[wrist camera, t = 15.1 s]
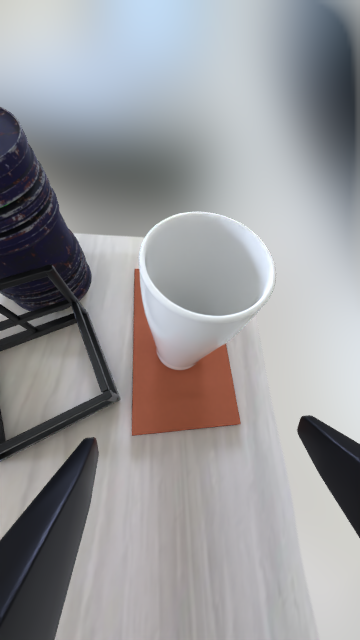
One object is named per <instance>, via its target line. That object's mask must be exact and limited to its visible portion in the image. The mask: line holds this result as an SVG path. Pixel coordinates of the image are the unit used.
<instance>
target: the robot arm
mask: <svg viewBox="0 0 360 640" xmlns="http://www.w3.org/2000/svg"><path fill="white" fill-rule="evenodd" d="M297 430H298V435H299V437H300V439H301V440H302V442H303V444H304V446H305V448H306V450H307V452H308V454H309V456H310V457H311V459H312V461H313V463H314V465H315V467H316V469H317V471H318V472H319V474H320V476H321V477H322V479H323V481H324V482H325V484H326V485H327V487H328V489H329V490H330V492H331V493H332V495H333V496H334V498H335V500H336V501H337V503H338V504H339V506H340V507H341V509H342V511H343V512H344V514H345V515H346V517H347V519H348V520H349V522H350V523H351V525H352V526H353V528H354V530H355V531H356V533H357V534H358V536H359V538H360V444H358V443H357V442H355V441H354V440H352V439H350V438H349V437H347V436H345V435H343V434H342V433H340V432H338V431H337V430H335V429H333V428H332V427H330V426H328V425H327V424H325V423H323V422H321V421H320V420H318V419H316V418H315V417H313V416H310V415H309V416H302V417H301V419H300V422H299V425H298V429H297ZM98 455H99V452H98V446H97V441H96V438H94V437H93V438H85V439H84V440H83V441H82V442H81V443H80V444H79V446H78V447H77V448H76V449H75V451H74V452H73V453H72V454H71V455H70V457H69V458H68V459H67V460H66V461H65V463H64V464H63V465H62V466H61V467H60V469H59V470H58V471H57V472H56V474H55V475H54V476H53V477H52V478H51V480H50V481H49V482H48V483H47V484H46V486H45V487H44V488H43V489H42V491H41V492H40V493H39V494H38V495H37V497H36V498H35V499H34V500H33V501H32V503H31V504H30V505H29V506H28V507H27V509H26V510H25V511H24V512H23V514H22V515H21V516H20V517H19V518H18V520H17V521H16V522H15V523H14V524H13V526H12V527H11V528H10V529H9V530H8V532H7V533H6V534H5V535H4V537H3V538H2V539H1V540H0V640H54V639H55V636H56V632H57V628H58V624H59V620H60V617H61V613H62V609H63V605H64V602H65V598H66V594H67V590H68V587H69V583H70V579H71V575H72V572H73V568H74V564H75V560H76V557H77V553H78V549H79V545H80V542H81V538H82V534H83V530H84V527H85V523H86V519H87V515H88V511H89V507H90V502H91V497H92V491H93V485H94V480H95V474H96V468H97V462H98Z"/></svg>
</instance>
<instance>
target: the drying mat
mask: <svg viewBox="0 0 360 640" xmlns="http://www.w3.org/2000/svg"><path fill="white" fill-rule="evenodd" d="M237 424H241V423H240V418H239V412H238V407H237V402H236V396H235V391H234V385H233V380H232V375H231V369H230V364H229V358H228V353H227V348H226V343H225V344H224V345H222V346H221V347H219V348H218V349H216V350H215V351H213V352H212V353H210V354H209V355H207V356H205V357H204V358H202V359H201V360H199V361H198V362H197V363H196V364H195V365H194V366H193V367H191V368H189V369H186V370H174V369H171V368H169V367H167V366H166V365H164V364H163V363H162V362H161V360H160V359H159V357H158V355H157V352H156V345H155V342H154V339H153V336H152V334H151V331H150V328H149V325H148V322H147V319H146V315H145V312H144V307H143V302H142V296H141V287H140V271H139V269H135V281H134V341H133V400H132V436H133V435H142V434H152V433H161V432H171V431H180V430H190V429H199V428H209V427H218V426H228V425H237Z"/></svg>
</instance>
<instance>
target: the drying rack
mask: <svg viewBox="0 0 360 640" xmlns="http://www.w3.org/2000/svg"><path fill="white" fill-rule="evenodd" d="M47 276H48V277H49V279H50V280H51V281H52V282H53V283H54V285H55V286H56V287H57V288H58V289H59V291H60V292H61V293H62V294H63V295H64V297H65V298H66V300H63V301H60V302H57V303H54V304H52V305H49V306H46V307H43V308H40V309H37V310H34V311H31V312H28V313H25V314H22V315H19V316H17V315H16V314H14V313H13V312H11V311H10V310H8V309H7V308H5V307H4V306H2V305H1V304H0V313H1V314H2V315H4V316H6V317H7V318H9V319H7V320H5V321H2V322H0V331H2V330H5V329H7V328H10V327H13V326H16V325H21V326H22V327H24V328H25V329H27V330H26V331H23V332H20V333H17V334H15V335H12V336H9V337H6V338H4V339H1V340H0V351H3V350H5V349H8V348H11V347H13V346H16V345H19V344H21V343H24V342H27V341H29V340H32V339H35V338H37V337H40V336H42V335H45V334H48V333H50V332H53V331H56V330H58V329H61V328H64V327H66V326H69V325H72V324H74V323H77V324H78V326H79V329H80V332H81V335H82V338H83V341H84V344H85V346H86V349H87V352H88V355H89V358H90V361H91V364H92V366H93V369H94V372H95V375H96V378H97V381H98V384H99V386H100V389H101V392H102V393H103V394H101V395H99V396H97V397H95V398H93V399H91V400H89V401H86V402H84V403H82V404H80V405H78V406H76V407H74V408H72V409H70V410H68V411H66V412H64V413H62V414H60V415H58V416H56V417H54V418H52V419H50V420H48V421H46V422H44V423H42V424H40V425H38V426H36V427H34V428H32V429H30V430H28V431H26V432H24V433H22V434H20V435H18V436H16V437H14V438H12V439H10V440H7V441H5V435H4V429H3V423H2V417H1V411H0V462H1V461H2V460H4V459H6V458H8V457H10V456H12V455H14V454H16V453H18V452H20V451H22V450H24V449H26V448H28V447H30V446H32V445H34V444H35V443H37V442H39V441H41V440H43V439H45V438H47V437H49V436H51V435H53V434H55V433H57V432H59V431H61V430H63V429H65V428H66V427H68V426H70V425H72V424H74V423H76V422H78V421H80V420H82V419H84V418H86V417H88V416H90V415H92V414H94V413H96V412H97V411H99V410H101V409H103V408H105V407H107V406H109V405H111V404H113V403H115V402H117V401H119V400H120V397H119V394H118V391H117V389H116V386H115V383H114V381H113V378H112V376H111V373H110V370H109V368H108V365H107V362H106V360H105V357H104V354H103V352H102V349H101V346H100V344H99V341H98V339H97V336H96V333H95V331H94V328H93V325H92V323H91V320H90V318H89V315H88V312H87V311H86V310H85V309H84V308H83V307H82V305H81V304H80V302H79V301H78V299H77V298H76V296H74V294H73V293H72V292H71V290H70V289H69V287H68V286H67V285H66V283H65V282H64V281H63V279H62V278H61V277H60V275H59V274H58V272H57V271H56V269H55V267H54V266H53V265H52V264H50V265H49V264H48V265H45V266H43V267H40V268H36V269H33V270H29V271H26V272H22V273H19V274H15V275H12V276H9V277H5V278H2V279H0V290H4V289H7V288H10V287H14V286H17V285H20V284H24V283H27V282H30V281H34V280H37V279H40V278H44V277H47ZM70 306H72V309H73V312H74V313H72V314H70V315H67V316H64V317H61V318H59V319H56V320H53V321H50V322H48V323H45V324H42V325H39V326H37V327H34V326H32V325H31V324H29V323H28V322H27V321H30V320H33V319H36V318H39V317H42V316H44V315H47V314H50V313H53V312H56V311H59V310H61V309H64V308H67V307H70Z"/></svg>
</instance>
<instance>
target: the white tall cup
mask: <svg viewBox="0 0 360 640" xmlns="http://www.w3.org/2000/svg"><path fill="white" fill-rule="evenodd" d="M139 271H140V287H141V296H142V302H143V307H144V312H145V315H146V319H147V322H148V325H149V328H150V331H151V334H152V336H153V339H154V342H155V345H156V352H157V355H158V357H159V359H160V360H161V362H162V363H163V364H164V365H166V366H167V367H169V368H171V369H174V370H186V369H189V368H191V367H193V366H194V365H195V364H196V363H197V362H198V361H199V360H201V359H202V358H204V357H205V356H207V355H209V354H210V353H212V352H213V351H215V350H216V349H218V348H219V347H221V346H222V345H224V344H225V343H227V342H228V341H229V340H230V339H232V338H233V337H234V336H235V335H236V334H237V333H238V332H239V331H241V330H242V329H243V328H244V327H245V326H246V325H247V324H248V323H249V321H250V320H251V319H252V318H253V317H254V316H255V315H256V313H257V312H258V311H259V310H260V309H261V308H262V307H263V306H264V305H265V303H266V302H267V301H268V299H269V298H270V296H271V294H272V292H273V289H274V286H275V281H276V270H275V264H274V261H273V258H272V255H271V253H270V251H269V250H268V248H267V246H266V245H265V244H264V243H263V241H262V240H261V239H260V238H259V237H258V236H257V235H256V234H255V233H254V232H253V231H252V230H250V229H249V228H248V227H246V226H245V225H243V224H241V223H240V222H238V221H236V220H234V219H231V218H229V217H226V216H223V215H219V214H214V213H209V212H187V213H181V214H177V215H174V216H171V217H169V218H167V219H165V220H163V221H161V222H160V223H158V224H157V225H156V226H154V227H153V228H152V229H151V230H150V231H149V233H148V234H147V235H146V237H145V238H144V240H143V242H142V245H141V248H140V252H139Z"/></svg>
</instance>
